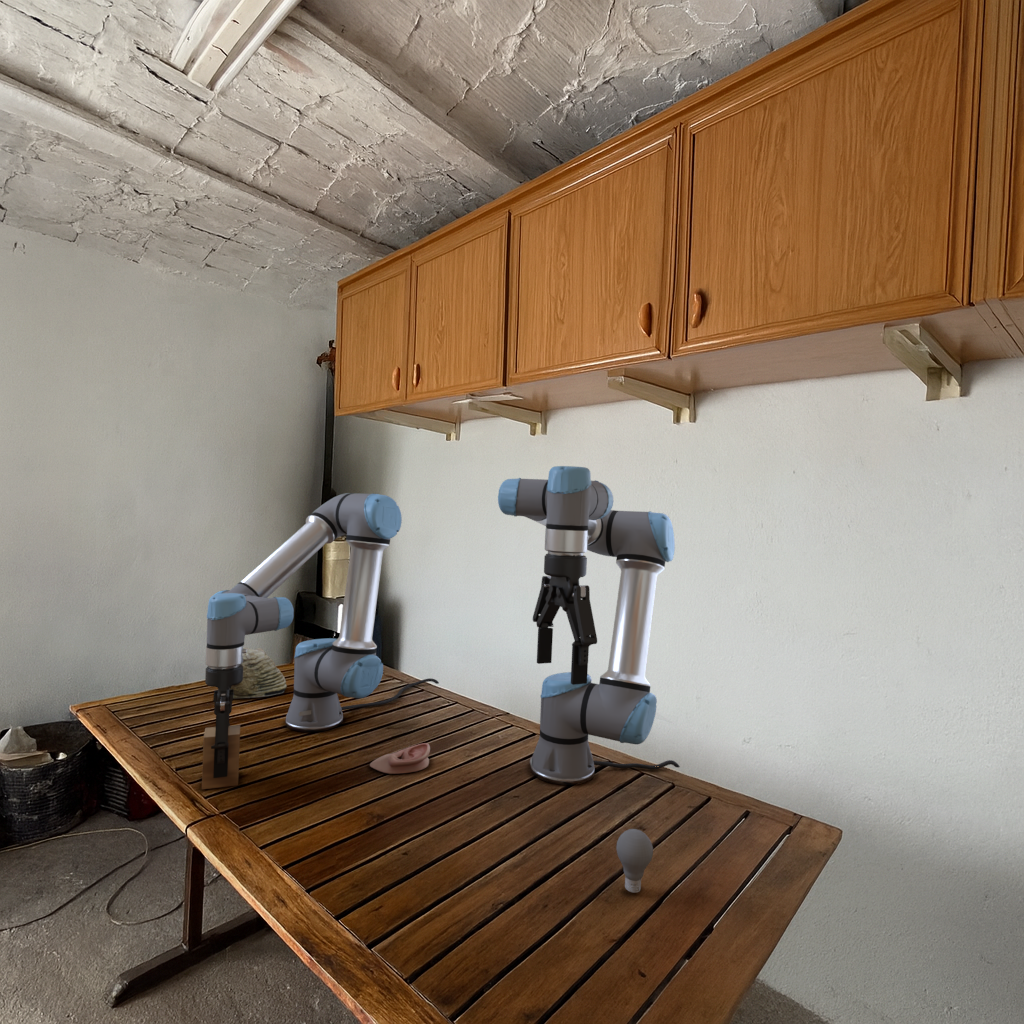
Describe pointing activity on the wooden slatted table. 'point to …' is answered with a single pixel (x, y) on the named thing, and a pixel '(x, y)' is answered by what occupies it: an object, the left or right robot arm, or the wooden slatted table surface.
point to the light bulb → (634, 857)
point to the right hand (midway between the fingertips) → (560, 672)
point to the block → (233, 759)
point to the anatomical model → (404, 760)
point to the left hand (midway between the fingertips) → (221, 769)
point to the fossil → (259, 676)
